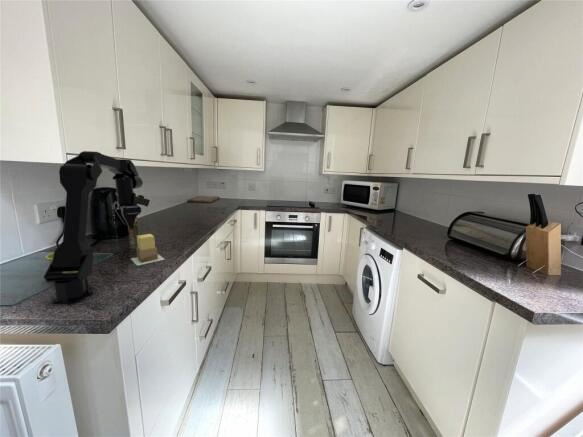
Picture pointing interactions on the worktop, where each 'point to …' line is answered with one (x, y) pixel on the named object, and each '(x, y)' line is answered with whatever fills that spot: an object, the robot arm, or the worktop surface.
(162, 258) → the baseplate
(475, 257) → the worktop surface
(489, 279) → the worktop surface
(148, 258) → the walnut block
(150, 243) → the mustard cube
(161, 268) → the worktop surface
